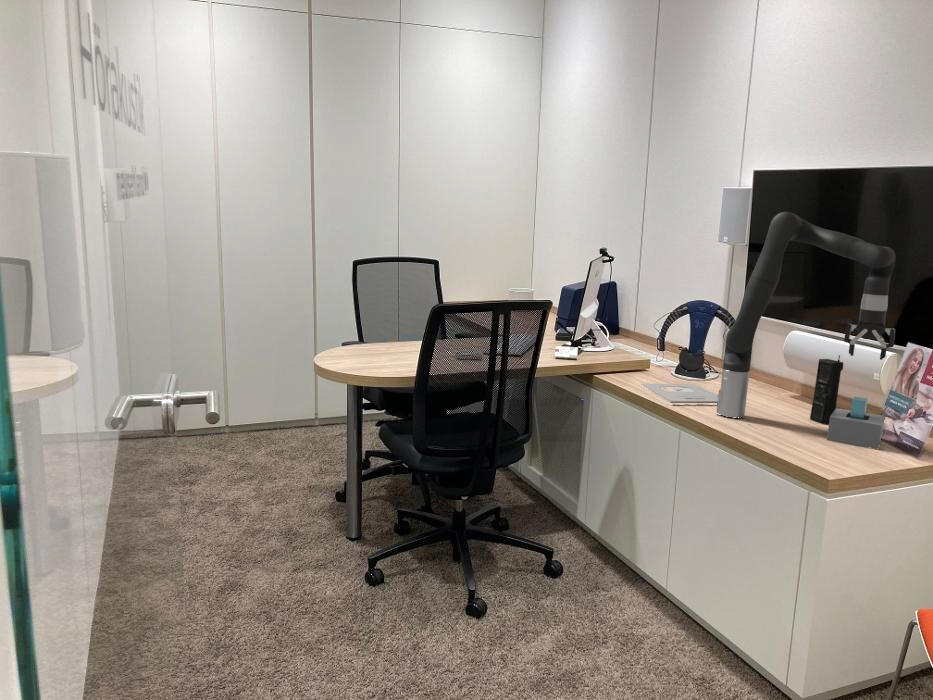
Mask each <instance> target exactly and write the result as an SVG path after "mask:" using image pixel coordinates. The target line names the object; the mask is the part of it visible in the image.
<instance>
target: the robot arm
mask: <svg viewBox="0 0 933 700" xmlns="http://www.w3.org/2000/svg"><path fill="white" fill-rule="evenodd" d="M767 231H768V232H767V234H766V237H765V241H764V245H763V247H762V250H761V252H760V254H759V256H758V259H757V261H756V262H755V263H756V264H755V266H754V269H753V271H752V272H751V275H750V277H749V279H748V283H747V284H746V288H745V290H744V293H743V297H742V301H741V306H740V309H739V312H738V314H737V317H736V319H735V321H734V323H733V324H732V326H731V328H730V329H729V330H727V333H726V336H725V344H724V345H725V347H724V355H723V361H722V363H723V365H722V373H721V382H720V388H719V389H718V393H717V394H718V403H717V405H716V406H717V407H716V413H719V414H721V415H724V416H728V417H736V418H738V417H739V418H740V419H742V418H741V417H744V418H745V414H746V407H747V406H746V405H747V396H748V388H749V379H750V371H751V365H752V364H751V362H752V351H753V344H754V339H755V334H756V332H757V328H758V325H759V322H760V321H761V318H762V316H763V314H764V313H765V311H766V309H767V307H768V305H769V303H770V301H771V300H772V297H773V295H774V294H775V290H776V288H777V286H778V283H779V281H780V278H781V273H782V272H781V271H782V266H783V265H782V263H783V258H784V254H785V252H786V249H787V247H788V245H789V243H790V241H792V242H793V241H794V242H798V243H799V242H800V243H806V244H809V245H812V246H816V247H817V248H820V249H823V250H825V251H826V252H830V253H832V254H835V255H837V256H841V257H842V258H847V259H850V260H853V261H856V262H858V263H860V264H862V265H865V266H867V267H869V273H868V276H867V277H866V279H865V281H864V288H863V294H862V298H861V302H860V309H859V315H858V316H859V317H858V322H857V324H852V323H847V325H846V330H845V335H844V339H843V341H844V342H845V343H847V344H849V346H848V354H849V355H850V357H851V356H852V357H854V355H855V347H856V345H855V343H856V342H858V341H859V340H860V339H861V338H862V339H863V340H871V341H875V340H877V342H878V343H879V344H880V346H881V347H880V355H879V356H880V357H879V360H883V359H885V358H886V356H887V349H888V348H889V349H890V348H893V347H894V345H895V336H896V329H895V328H894V327H893V328H886V327H885V326H886V325H885V324H886V316H887V313H888V312H887V310H888V307H889V306H888V304H889V291H890V281H891V278H892V275H893V272H894V269H895V264H896V253H895V251H894V249H893V248H891V247H889V246H886V245H885V246H880V245H878V244H873V243H870V242H867V241H864V240H863V239H862V238H858V237H856V236H853V235H849V234H847V233H843V232H841V231H840V232H839V231H837V230H836V231H835V230H830V229H826V228H823V227H820V226H818V225H815V224H812V223H810V222H808V221H807V220H805V219H803V218H801V217H800V216H798V214H795V213H793V212H790V211H782V212H779V213H777V214H776V215H775V216H774V217H773V218H772V220H771V221H770V224H769V228H768V230H767ZM854 329H855V330H856V331H857V333H858V334H857V335H856V336H855V337H854V338H852V339H851V332H853V331H854ZM885 332H886V333H887V335H888V336H889V340H888V343H887V342H886V341H885V339H884V338H883V336H882V335H883V334H885ZM716 413H715V414H716Z"/></svg>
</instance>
